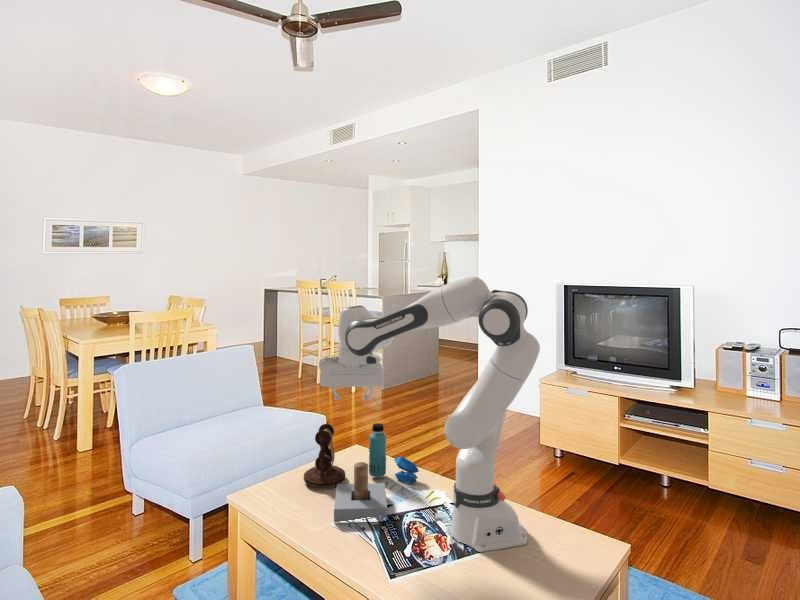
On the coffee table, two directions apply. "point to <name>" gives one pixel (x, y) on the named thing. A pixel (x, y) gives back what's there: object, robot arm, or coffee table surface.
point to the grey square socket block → (359, 503)
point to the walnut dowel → (361, 481)
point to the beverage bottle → (377, 451)
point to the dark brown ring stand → (324, 462)
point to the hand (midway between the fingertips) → (352, 399)
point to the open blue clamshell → (407, 466)
